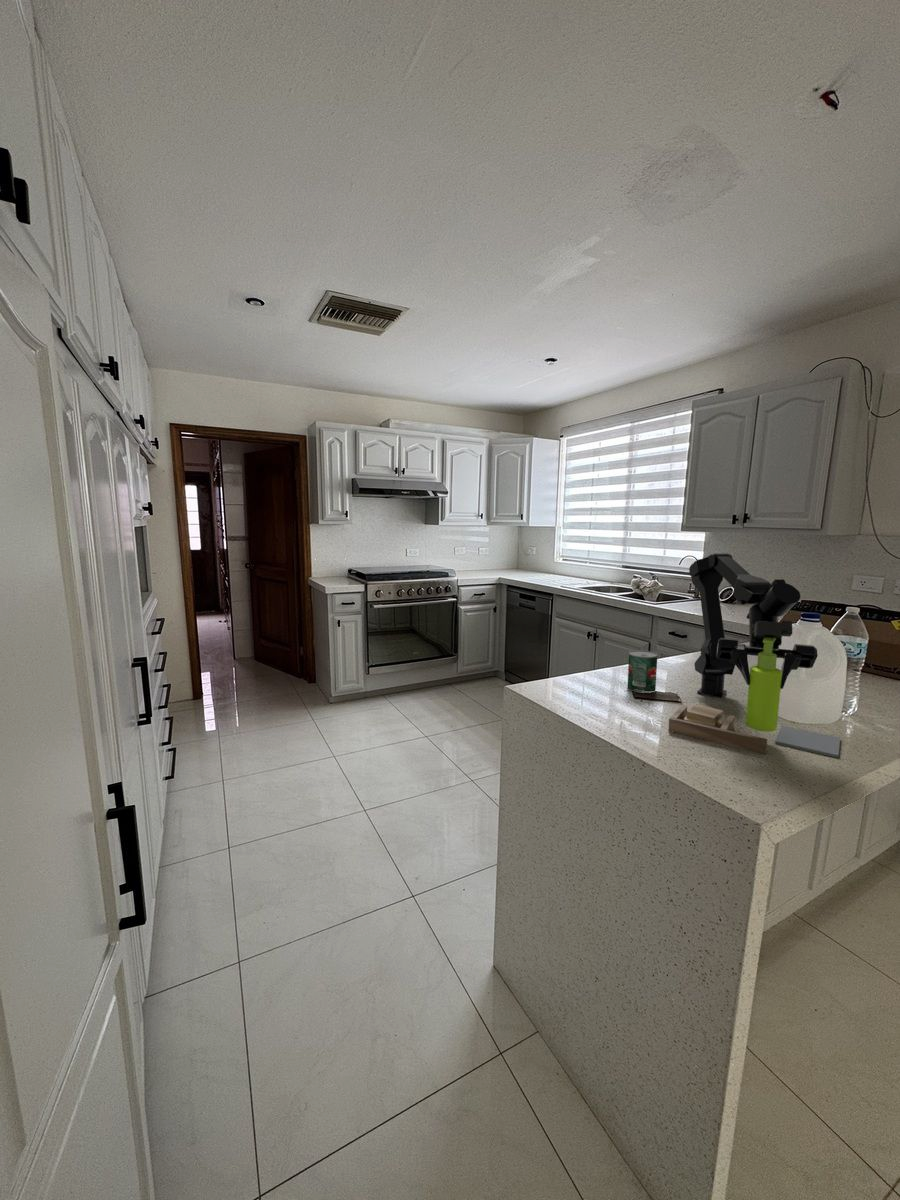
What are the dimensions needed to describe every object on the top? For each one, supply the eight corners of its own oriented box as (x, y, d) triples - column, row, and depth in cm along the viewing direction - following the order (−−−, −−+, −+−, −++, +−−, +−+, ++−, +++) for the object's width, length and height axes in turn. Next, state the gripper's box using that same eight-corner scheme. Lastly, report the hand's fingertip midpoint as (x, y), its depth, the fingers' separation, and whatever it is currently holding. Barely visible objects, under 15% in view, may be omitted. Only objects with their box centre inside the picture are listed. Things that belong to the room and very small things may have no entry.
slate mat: (781, 727, 117) (781, 725, 117) (840, 740, 110) (840, 737, 110) (775, 743, 108) (775, 741, 108) (838, 758, 101) (838, 755, 101)
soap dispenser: (778, 723, 110) (787, 637, 107) (774, 734, 105) (783, 643, 102) (748, 717, 114) (756, 633, 111) (743, 727, 109) (751, 639, 105)
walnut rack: (681, 716, 124) (682, 705, 124) (772, 737, 112) (773, 724, 111) (668, 730, 116) (669, 718, 115) (765, 754, 103) (766, 741, 103)
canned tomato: (624, 684, 149) (626, 649, 148) (651, 685, 148) (653, 650, 147) (630, 693, 142) (632, 656, 140) (659, 694, 141) (661, 657, 139)
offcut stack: (689, 720, 122) (691, 702, 121) (722, 727, 117) (723, 709, 117) (680, 730, 116) (681, 712, 115) (714, 738, 111) (716, 720, 110)
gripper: (721, 603, 113) (719, 662, 105) (820, 609, 105) (826, 673, 97) (717, 630, 121) (715, 686, 113) (809, 637, 113) (814, 698, 105)
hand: (765, 685), depth 107 cm, fingers closed on soap dispenser, 6 cm apart
